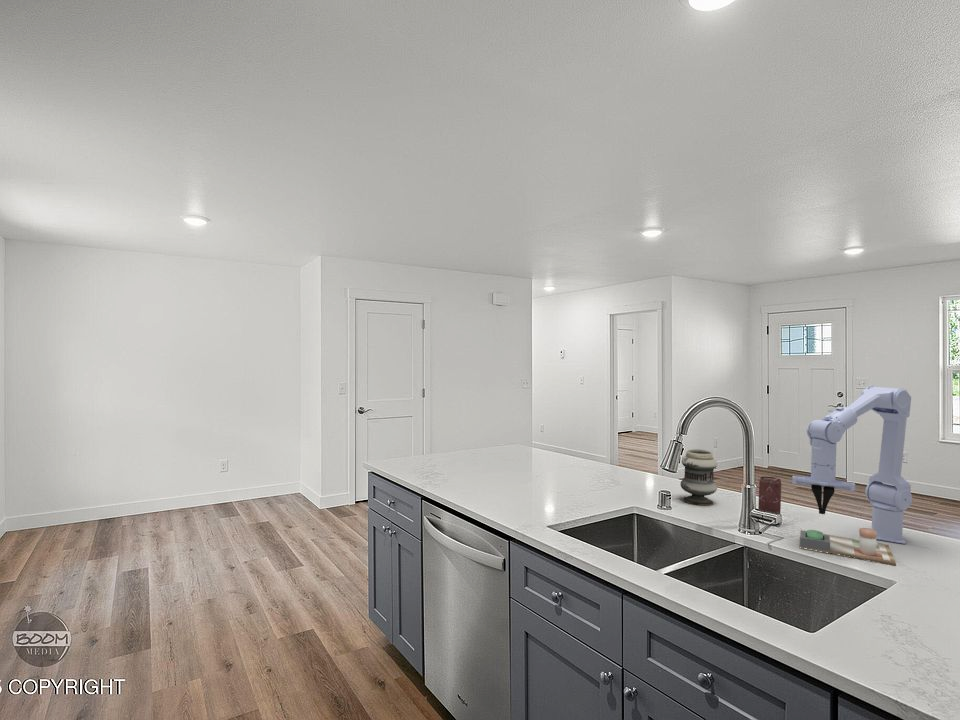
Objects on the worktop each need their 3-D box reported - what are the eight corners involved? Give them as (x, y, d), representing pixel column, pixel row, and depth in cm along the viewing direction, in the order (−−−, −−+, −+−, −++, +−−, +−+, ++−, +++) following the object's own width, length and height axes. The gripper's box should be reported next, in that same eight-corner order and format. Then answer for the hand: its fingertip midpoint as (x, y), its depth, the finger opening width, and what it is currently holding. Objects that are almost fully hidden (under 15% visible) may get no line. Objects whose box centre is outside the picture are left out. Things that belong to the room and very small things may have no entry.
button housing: (800, 539, 154) (800, 530, 154) (828, 543, 150) (829, 535, 150) (800, 546, 148) (800, 537, 148) (829, 551, 145) (830, 542, 145)
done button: (806, 539, 152) (807, 529, 152) (822, 542, 150) (823, 531, 150) (806, 543, 149) (806, 532, 149) (823, 546, 147) (823, 535, 147)
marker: (859, 549, 146) (859, 527, 146) (876, 552, 144) (876, 529, 144) (859, 553, 143) (859, 530, 143) (876, 556, 141) (877, 533, 141)
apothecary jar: (678, 503, 190) (679, 452, 189) (681, 495, 201) (683, 446, 200) (716, 508, 185) (717, 455, 184) (717, 499, 195) (718, 450, 195)
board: (800, 532, 162) (800, 529, 162) (888, 546, 151) (888, 543, 151) (799, 548, 148) (799, 545, 148) (895, 565, 137) (896, 562, 137)
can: (785, 525, 168) (786, 480, 168) (766, 526, 167) (768, 480, 167) (771, 519, 174) (773, 475, 174) (753, 519, 173) (755, 476, 173)
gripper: (792, 463, 150) (791, 512, 150) (856, 470, 142) (854, 521, 142) (793, 459, 156) (791, 506, 156) (854, 465, 148) (853, 514, 148)
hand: (821, 513), depth 150 cm, fingers closed
